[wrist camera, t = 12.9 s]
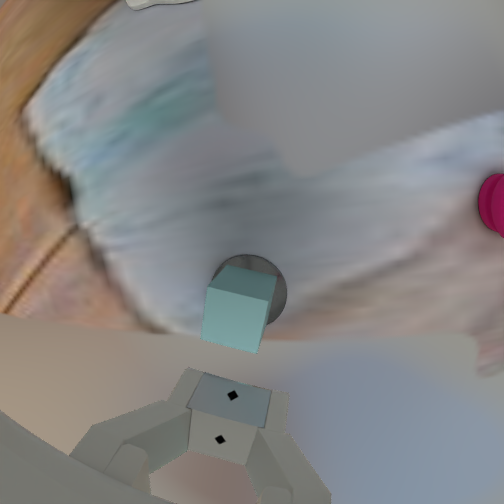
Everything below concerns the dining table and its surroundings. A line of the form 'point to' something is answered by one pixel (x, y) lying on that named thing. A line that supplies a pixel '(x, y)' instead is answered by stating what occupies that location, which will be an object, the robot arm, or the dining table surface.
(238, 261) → the grey round stand
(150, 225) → the dining table surface
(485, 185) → the pepper mill
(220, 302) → the teal rectangular block
